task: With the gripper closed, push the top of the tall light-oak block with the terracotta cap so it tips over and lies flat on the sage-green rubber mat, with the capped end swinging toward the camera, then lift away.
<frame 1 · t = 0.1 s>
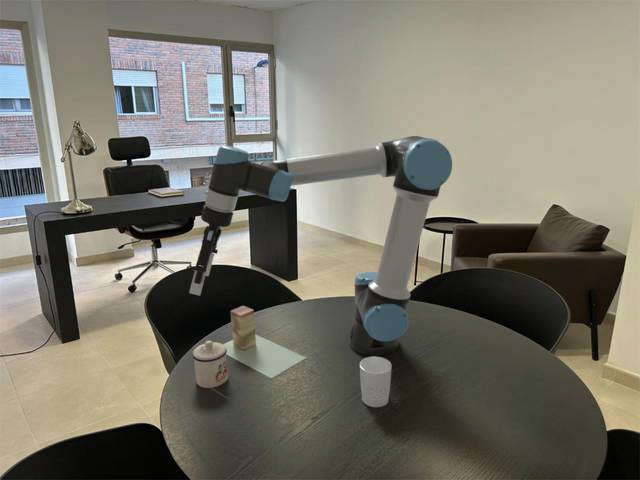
hand: (199, 283, 121), 28 cm above the table, tool tilted 20°, fingers open, 13 cm apart
white cup: (375, 400, 117), on the table
teacup with lid: (214, 377, 129), on the table
oak block: (244, 345, 145), resting on rubber mat
rubber mat: (259, 354, 140), on the table
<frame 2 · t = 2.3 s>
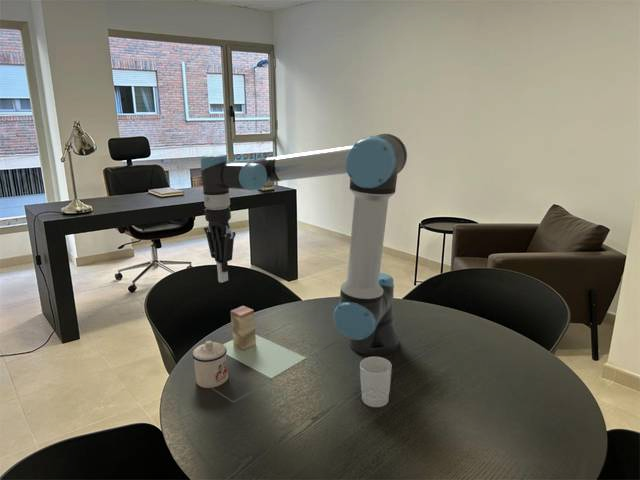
hand: (223, 280, 145), 20 cm above the table, tool pointing down, fingers closed
nothing on the table moved.
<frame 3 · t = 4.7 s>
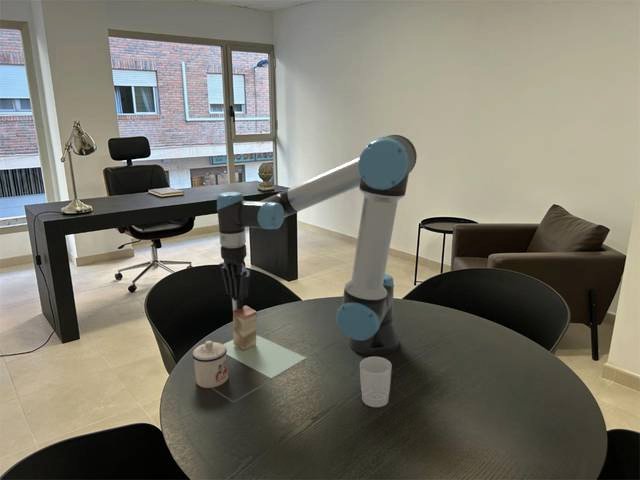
hand: (238, 316, 144), 10 cm above the table, tool pointing down, fingers closed
oak block: (244, 344, 145), point 1 cm above the table, tilted 7°, touching gripper, rubber mat
everything else where it was.
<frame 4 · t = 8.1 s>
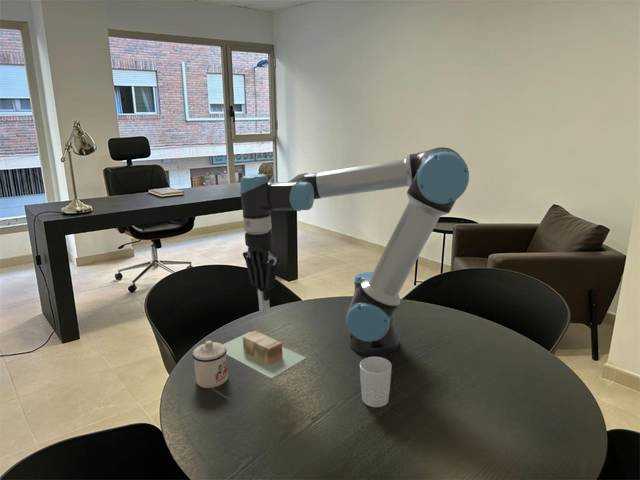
hand: (264, 309, 134), 16 cm above the table, tool pointing down, fingers closed
oak block: (249, 340, 142), point 3 cm above the table, tilted 90°, touching rubber mat
everything else where it was.
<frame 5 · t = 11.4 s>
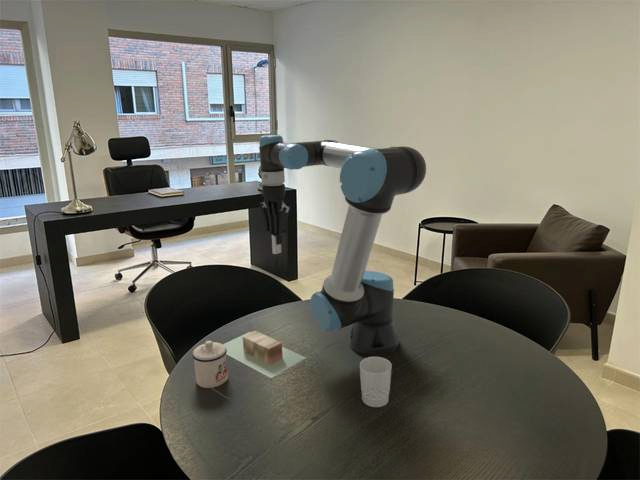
hand: (277, 252, 157), 24 cm above the table, tool pointing down, fingers closed
nothing on the table moved.
at the end: oak block tilted 90°; oak block touching rubber mat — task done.
